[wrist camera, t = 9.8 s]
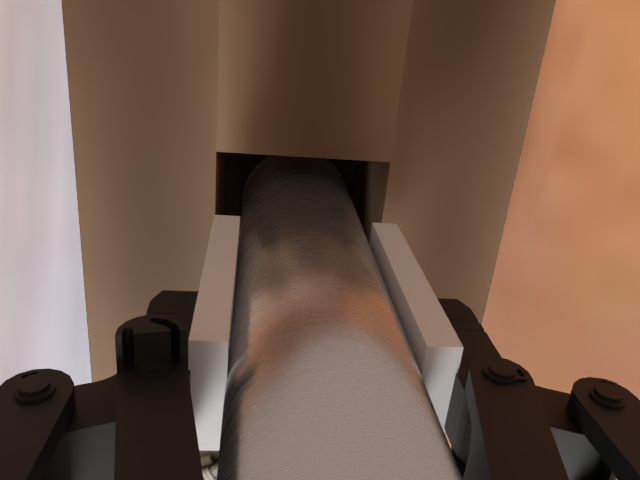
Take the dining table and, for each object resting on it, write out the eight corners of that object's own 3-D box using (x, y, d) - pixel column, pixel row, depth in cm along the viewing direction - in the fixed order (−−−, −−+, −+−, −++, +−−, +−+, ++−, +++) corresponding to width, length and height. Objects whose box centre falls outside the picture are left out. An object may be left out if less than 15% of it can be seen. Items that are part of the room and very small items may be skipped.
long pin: (240, 245, 23) (186, 895, 7) (244, 146, 22) (186, 679, 5) (341, 249, 24) (520, 867, 7) (352, 152, 22) (614, 663, 6)
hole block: (128, 336, 27) (95, 425, 22) (110, -44, 21) (57, -52, 16) (420, 343, 29) (457, 427, 24) (485, -7, 23) (556, -3, 17)
